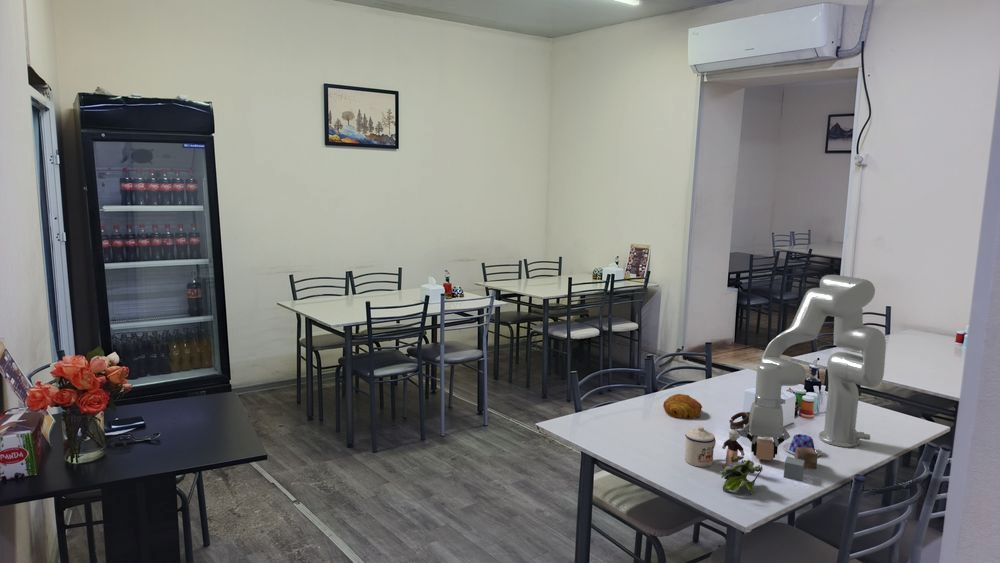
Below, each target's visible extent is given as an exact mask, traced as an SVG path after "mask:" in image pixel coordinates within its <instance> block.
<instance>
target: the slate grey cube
mask: <svg viewBox="0 0 1000 563" xmlns="http://www.w3.org/2000/svg"><path fill="white" fill-rule="evenodd" d="M804 462H805V460H801V459H797V458H795V457H791V456H786V458H785V461H784V467H783V478H785V479H789V480H793V481H798V482H802V481H803V477H804V472H805V468H804Z"/></svg>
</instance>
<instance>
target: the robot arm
mask: <svg viewBox="0 0 1000 563" xmlns="http://www.w3.org/2000/svg"><path fill="white" fill-rule="evenodd" d="M875 292H876V288H875V285H874V283H873V282H872V281H870V280H868V279H865V278H859V277H852V276H848V275H847V276H846V275H839V274H827V275H823V276H822V277H821V279H820V280H819V287H813V288H810V289H808V290H806V292H805V294H804V296H803V298H802V300H801V302H800V305H799V307H798V309H797V311H796V314H795V316H794V318H793V320H792V322H791V325H790V326H789V328H787V329H786V330H784V331H782V332H781V333H779V334H778V335H777V336H776V337H774V338H773V339H771V341H770V342H769V343H768V344H767V346H766V348H765V349H764V352H763V354H762V356H761V359H760V363H759V364H758V365H757V367H756V375H755V376H756V379H755V380H756V381H755V394H754V401H753V402H752V403H751V405H750V411H749V412H750V415H749V423H748V424H747V425H746V426H745V425H744V428H743V429H740V432H741V435H744V436H745V438H747V439H748V440H749V441H750V442H751V448H750V452H751V453H752V454H753V456H755V457H756V450H757V444H756V440H757V438H759V437H765V438H772V441H773V444H774V454H773V459H775V458H776V456H777V455H778V447H779V446H780V445H781V444H782V443H783V442H784V441H787V440H789V439H790V438H791V436H790V433H789V432H788V431H787V430H786V428H785V426H784V412H783V406H782V405H783V404H786V399H783V398H782V387H785V386H786V387H788V386H789V387H795V386H799V385H801V384H802V383H803V382H804V380H805V379H806V376H807V372H806V369H805V367H804V366H803V365H801V364H800V363H798V362H794V361H790V360H788V359H785V358H781V356H782V355H783V353H784V352H785V350H787V349H788V348H790V347H791V346H794V345H796V344H800V343H805V342H809V341H814V340H816V339H817V337H818V336H819V334H820V332H821V330H822V327H823V325H824V323H825V321H826V318H827V317H834V318H833V343H834V345H835V346H836V347H837V348H839V349H841V350H843V351H837V352H835V353H832V354H831V355H830V356H829V357H828V359H827V362H826V365H827V376H828V377H827V378H828V387H827V398H826V399H827V400H826V408H825V417H824V419H825V420H824V428H823V431H820V432H819V433H818V438H819V439H820V440H821V441H822V442H824V443H826V444H829V445H833V446H835V447H836V446H837V447H843V448H853V447H854V446H855V447H858V446H859V445H860V440H865V441H870V440H871V434H869V433H865V432H864V431H857V429H856V426H857V425H856V424H857V417H858V416H857V415H858V406H859V395H860V394H859V393H860V392H859V389H858V386H857V385H859V386H862V387H866V388H876V387H878V386H880V384H881V383H882V382H883V379H884V374H885V364H886V348H887V347H886V346H887V345H886V344H887V342H886V336H885V335H884V333H883V331H881V330H880V329H878V328H877V327H873V326H867V325H865V324H864V322H863V321H864V320H863V317H864V316H863V315H864V314H863V313H864V312H863V311H864V310H863V308H864V307H865V306H867V305H868V304H870V302H872V300H873V299H874V298H875V297H874V296H875V295H876V293H875ZM844 351H848V352H844ZM849 352H851V353H849ZM854 353H856V354H854ZM857 354H860V355H857ZM748 431H749V432H748Z"/></svg>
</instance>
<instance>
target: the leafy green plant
mask: <svg viewBox="0 0 1000 563" xmlns="http://www.w3.org/2000/svg"><path fill="white" fill-rule="evenodd" d="M731 461H732V462H734V463H735V462H736V463H735V464H733V463H732V464H731V465H728V466H726V467H724V471H719V472H720V474H721V475H722V476H721V479H724V480H725V481H724V483H723V484H722V485H723V486H722V491H723V492H727V491H731V492H734V491H737V490H739V489H740V488H742V487H743V486H744V485H745V486H746V488H747V490H749V492H750V493H749V494H750V496H752V493H755V488H754V486H755V483H756V480H757V479H758V477H759V475H760V474H761V473H762V471H763V469H764V468H763V466H762V465H760V464H758V465H755V462H754V461H753V460H750V459H747V460H745V459H744V456H742V455H738V456H736V457H731ZM755 472H757V475H756V476H755V478H754V479H753V480H751V481H750V480H748V478H747V477H748V475H749V474H754V473H755Z"/></svg>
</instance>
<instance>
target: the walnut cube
mask: <svg viewBox="0 0 1000 563" xmlns="http://www.w3.org/2000/svg"><path fill="white" fill-rule="evenodd" d="M794 458H797V459H801V460H805V462H804V469H807V468H808V469H811V470H817V469H818V468H817V466H818V458H819V456H818V454H817V453H816V452H815V451H814V450H813V449H812V448H804V447H796V451H795V454H794Z"/></svg>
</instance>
